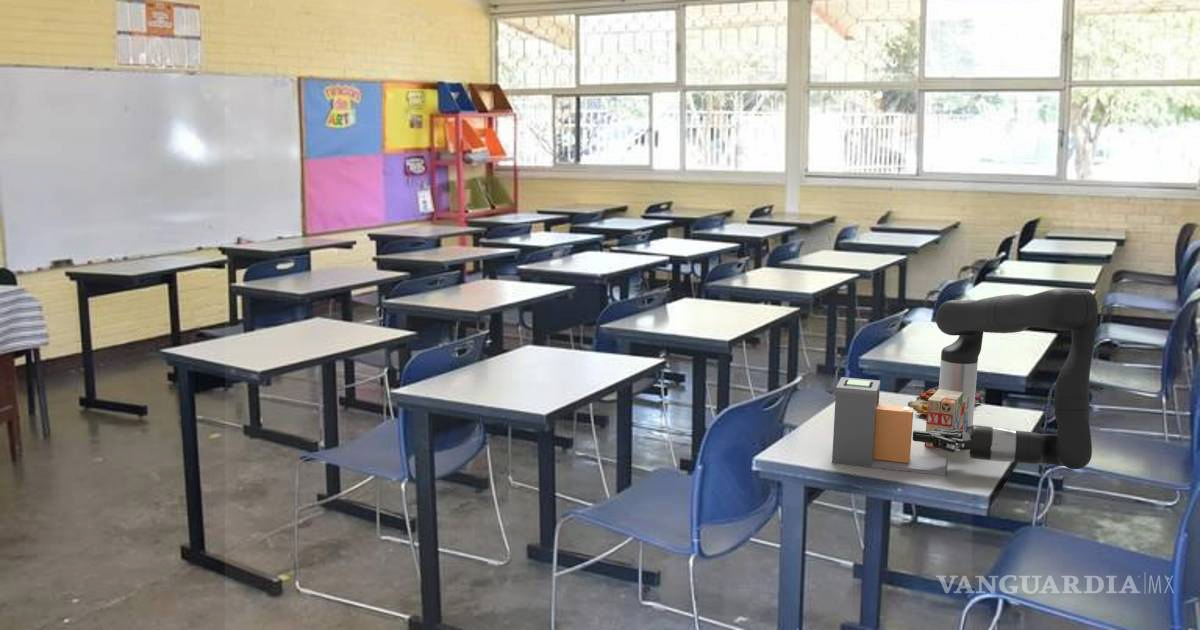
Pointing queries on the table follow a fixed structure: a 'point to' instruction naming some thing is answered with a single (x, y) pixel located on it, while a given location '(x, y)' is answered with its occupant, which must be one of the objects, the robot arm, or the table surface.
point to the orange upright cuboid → (893, 433)
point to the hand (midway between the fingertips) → (912, 435)
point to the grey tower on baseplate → (867, 432)
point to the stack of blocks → (947, 411)
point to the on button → (858, 383)
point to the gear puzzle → (923, 398)
